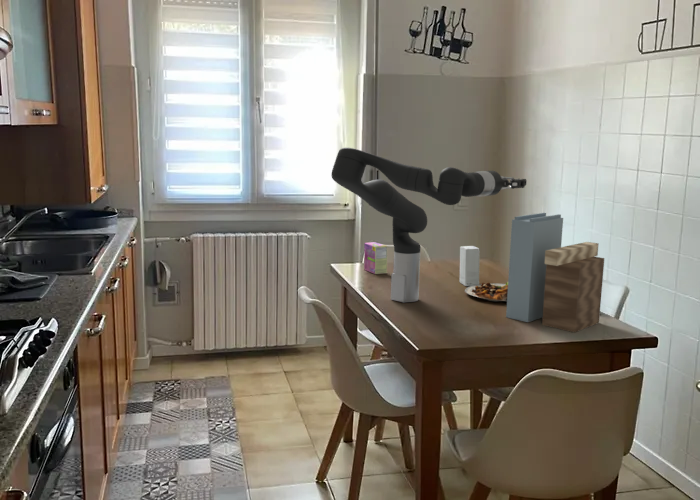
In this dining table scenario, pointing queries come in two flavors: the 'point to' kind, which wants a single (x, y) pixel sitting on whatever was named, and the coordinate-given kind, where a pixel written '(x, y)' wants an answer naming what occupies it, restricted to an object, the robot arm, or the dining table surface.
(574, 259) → the brown rectangular block
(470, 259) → the skincare box
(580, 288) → the low stand
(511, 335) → the dining table surface
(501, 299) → the plate of food
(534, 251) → the pedestal
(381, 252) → the box
